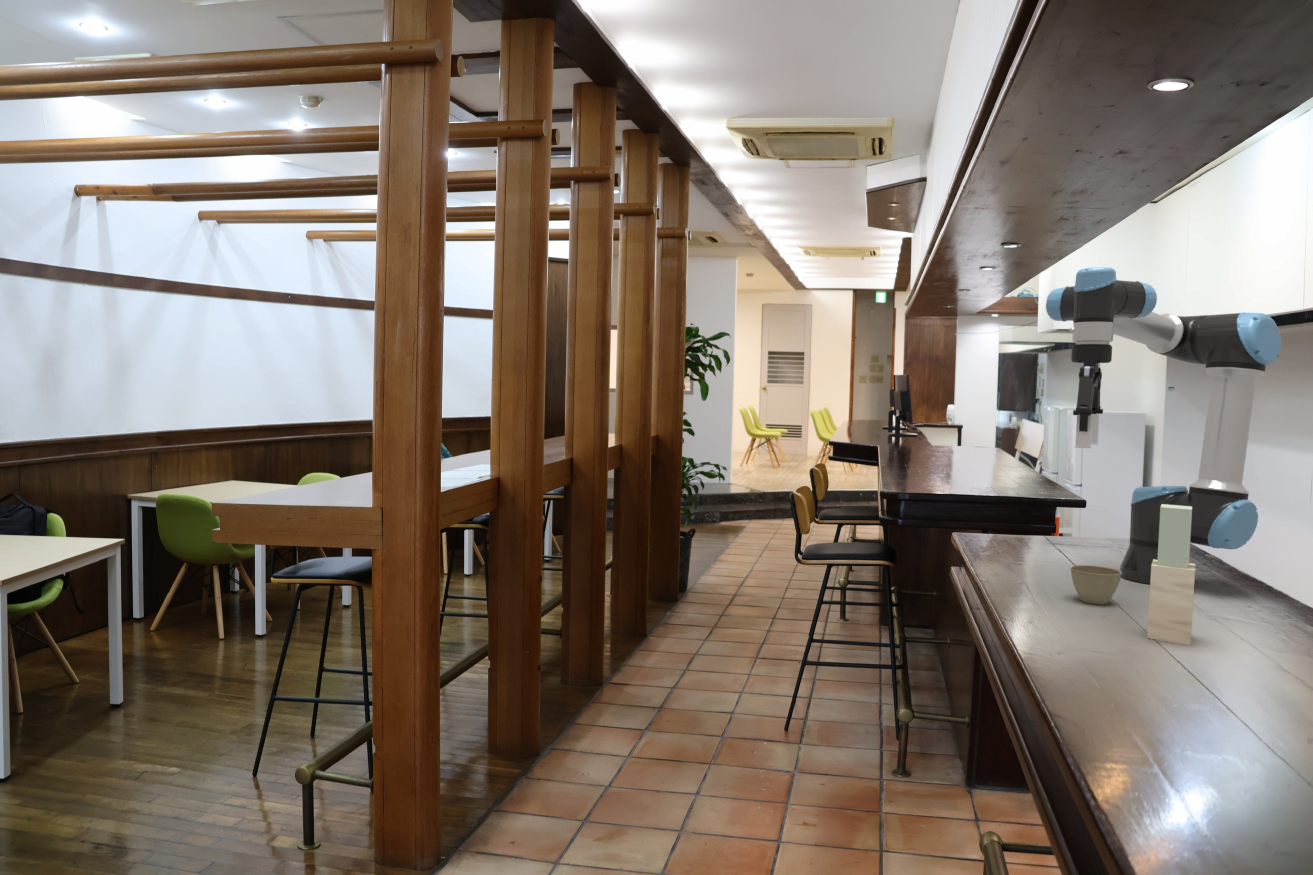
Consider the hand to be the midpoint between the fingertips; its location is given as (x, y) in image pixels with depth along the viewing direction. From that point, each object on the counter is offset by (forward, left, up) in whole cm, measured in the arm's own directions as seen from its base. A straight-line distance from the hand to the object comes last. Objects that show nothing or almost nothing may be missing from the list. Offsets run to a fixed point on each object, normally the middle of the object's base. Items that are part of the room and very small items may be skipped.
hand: (1086, 446), depth 184 cm
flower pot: (-10, +2, -35) cm, 36 cm away
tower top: (+12, +17, -28) cm, 35 cm away
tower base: (+12, +17, -35) cm, 41 cm away
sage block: (+12, +17, -21) cm, 29 cm away
